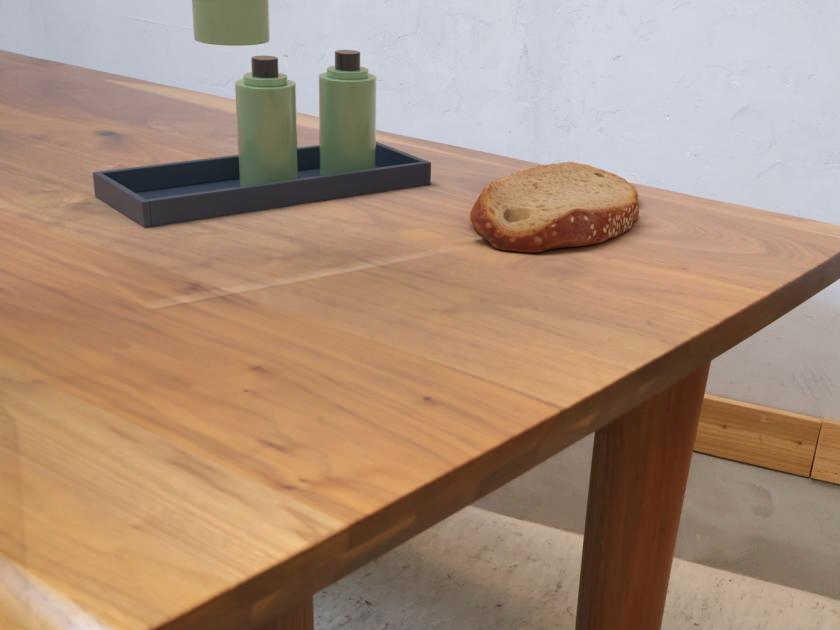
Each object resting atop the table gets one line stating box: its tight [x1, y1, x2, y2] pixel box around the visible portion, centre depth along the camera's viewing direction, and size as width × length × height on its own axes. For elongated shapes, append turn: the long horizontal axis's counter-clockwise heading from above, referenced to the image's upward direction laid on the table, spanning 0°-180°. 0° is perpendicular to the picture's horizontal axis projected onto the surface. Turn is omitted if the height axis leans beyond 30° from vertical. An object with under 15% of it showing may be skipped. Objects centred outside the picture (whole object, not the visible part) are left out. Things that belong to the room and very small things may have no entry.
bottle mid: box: [234, 55, 298, 187], centre depth 97 cm, size 5×5×11 cm
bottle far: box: [318, 49, 377, 176], centre depth 101 cm, size 5×5×11 cm
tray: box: [92, 141, 432, 229], centre depth 99 cm, size 27×10×3 cm, turn 126°
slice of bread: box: [469, 161, 640, 253], centre depth 97 cm, size 18×18×4 cm
